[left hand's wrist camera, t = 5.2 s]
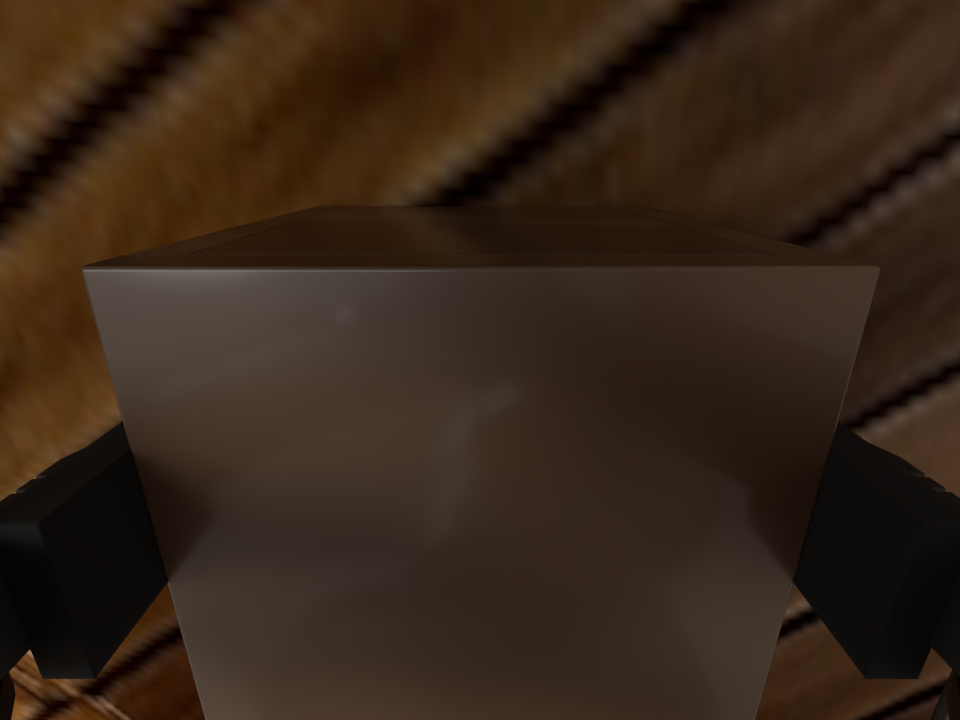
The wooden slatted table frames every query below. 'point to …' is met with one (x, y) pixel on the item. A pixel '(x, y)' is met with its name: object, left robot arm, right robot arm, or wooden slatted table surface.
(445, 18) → the wooden slatted table surface
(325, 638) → the cabinet
